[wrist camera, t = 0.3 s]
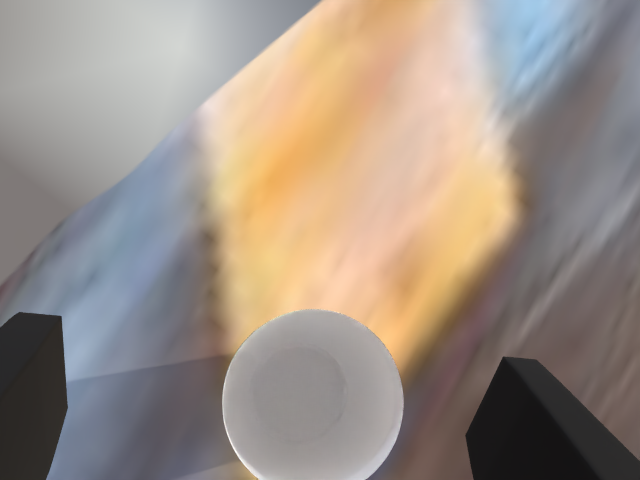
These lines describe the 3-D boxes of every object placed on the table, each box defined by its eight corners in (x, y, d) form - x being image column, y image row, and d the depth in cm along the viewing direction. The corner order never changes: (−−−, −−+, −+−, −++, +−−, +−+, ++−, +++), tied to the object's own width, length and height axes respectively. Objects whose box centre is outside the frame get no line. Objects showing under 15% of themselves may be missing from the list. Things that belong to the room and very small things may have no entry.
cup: (311, 491, 38) (333, 544, 26) (203, 406, 38) (178, 420, 27) (389, 378, 40) (442, 380, 28) (286, 298, 41) (296, 268, 29)
